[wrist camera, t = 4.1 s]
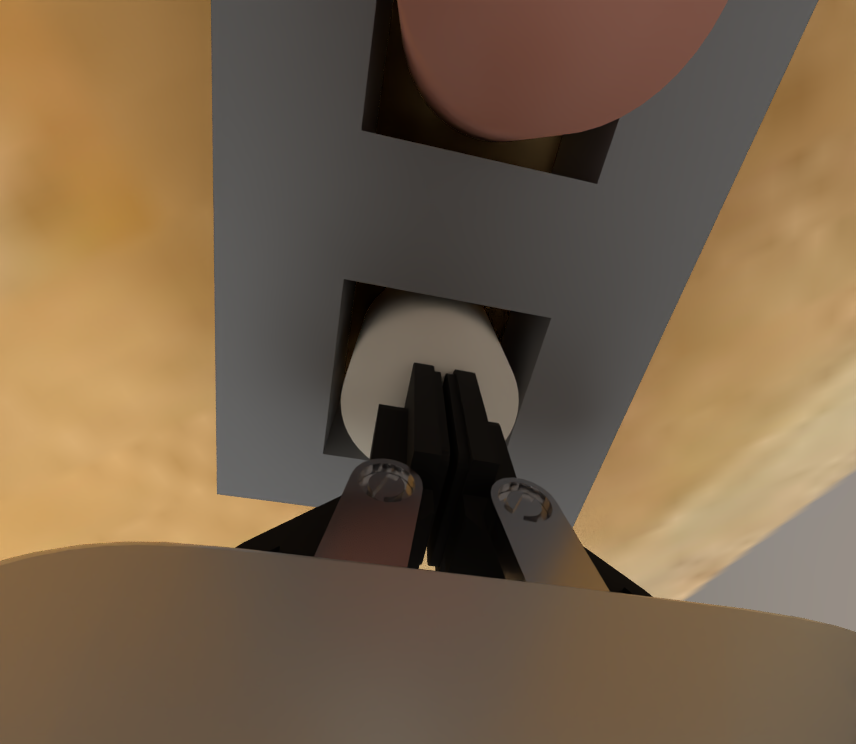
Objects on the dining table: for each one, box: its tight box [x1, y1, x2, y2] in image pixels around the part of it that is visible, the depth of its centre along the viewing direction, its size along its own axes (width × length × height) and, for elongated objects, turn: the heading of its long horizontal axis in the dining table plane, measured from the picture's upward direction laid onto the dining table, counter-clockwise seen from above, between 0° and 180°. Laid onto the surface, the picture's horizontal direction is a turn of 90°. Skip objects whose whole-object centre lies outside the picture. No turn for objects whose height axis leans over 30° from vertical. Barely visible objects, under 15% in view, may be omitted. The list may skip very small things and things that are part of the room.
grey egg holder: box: [211, 0, 818, 528], centre depth 11 cm, size 28×12×4 cm, turn 169°
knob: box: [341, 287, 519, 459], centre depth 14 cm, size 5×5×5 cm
